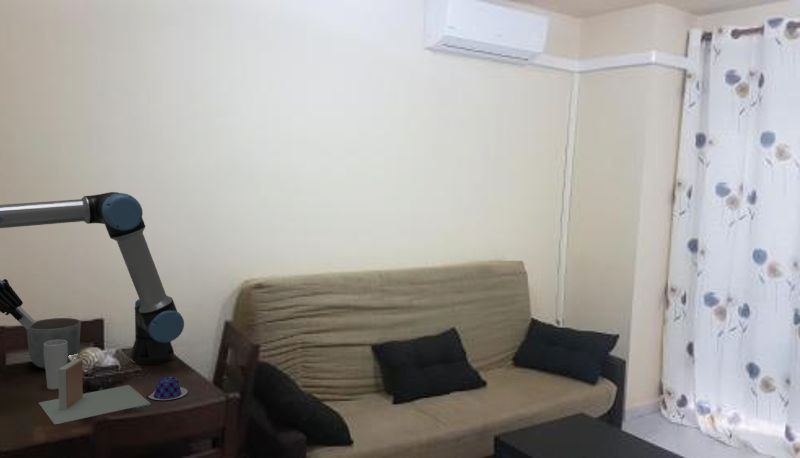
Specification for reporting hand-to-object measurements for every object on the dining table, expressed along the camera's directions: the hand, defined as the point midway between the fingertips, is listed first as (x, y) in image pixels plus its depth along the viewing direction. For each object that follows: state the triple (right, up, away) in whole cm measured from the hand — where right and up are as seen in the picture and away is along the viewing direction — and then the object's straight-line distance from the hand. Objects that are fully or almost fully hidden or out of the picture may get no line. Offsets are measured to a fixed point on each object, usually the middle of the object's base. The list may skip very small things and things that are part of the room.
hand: (31, 325), depth 185 cm
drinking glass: (-1, -23, +16) cm, 28 cm away
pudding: (+35, -24, +14) cm, 45 cm away
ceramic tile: (+11, -24, +2) cm, 26 cm away
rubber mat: (+17, -24, +3) cm, 30 cm away
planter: (-14, -20, +38) cm, 45 cm away
